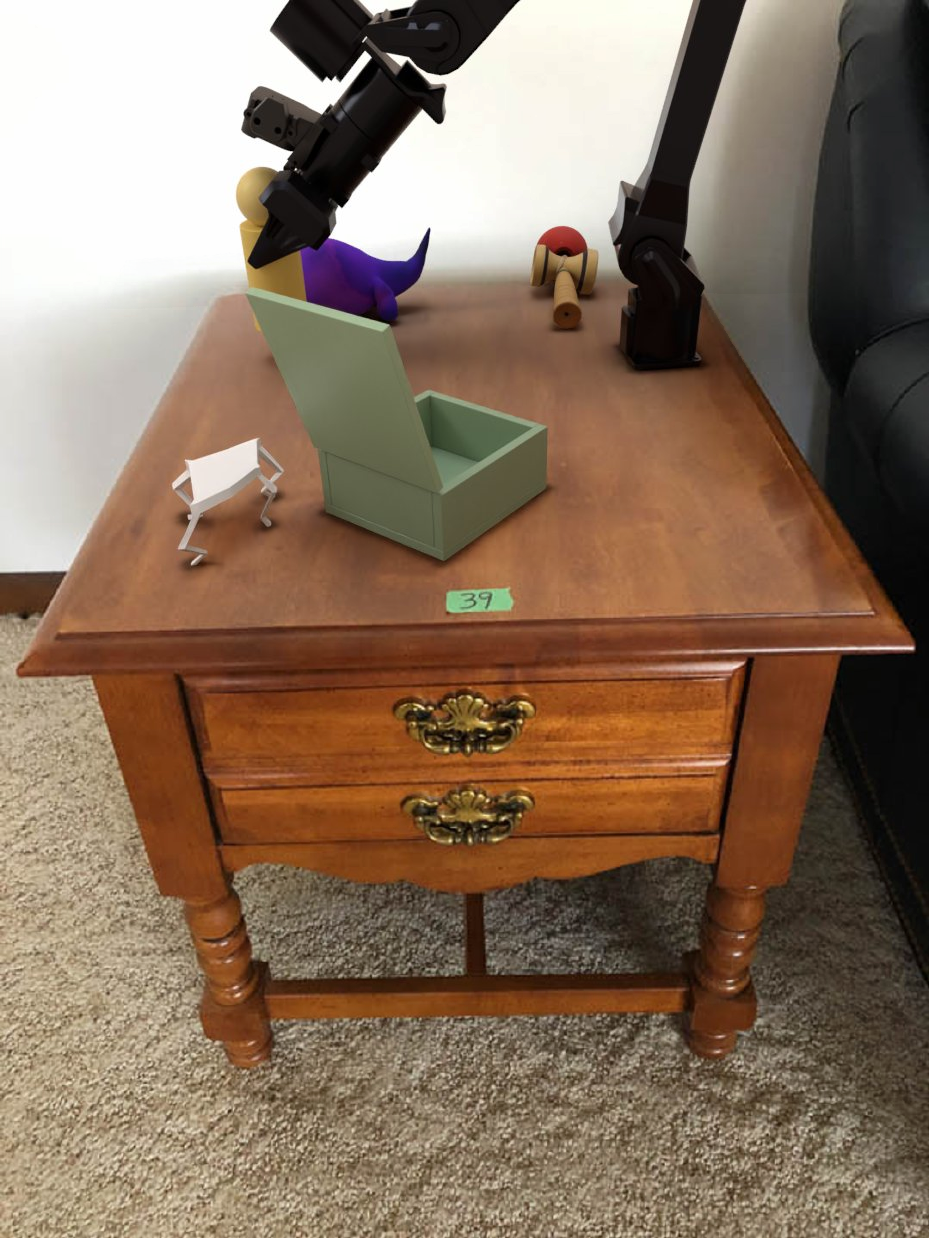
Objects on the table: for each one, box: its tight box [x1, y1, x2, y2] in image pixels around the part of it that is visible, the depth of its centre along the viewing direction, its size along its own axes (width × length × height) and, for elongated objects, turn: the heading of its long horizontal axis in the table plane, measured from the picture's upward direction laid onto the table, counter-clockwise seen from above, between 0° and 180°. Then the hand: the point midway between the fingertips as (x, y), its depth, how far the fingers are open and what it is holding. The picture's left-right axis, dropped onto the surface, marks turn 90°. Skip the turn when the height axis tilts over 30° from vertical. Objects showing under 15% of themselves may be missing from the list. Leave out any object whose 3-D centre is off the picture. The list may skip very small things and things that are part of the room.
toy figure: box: [235, 166, 307, 334], centre depth 95 cm, size 5×5×14 cm
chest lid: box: [244, 287, 443, 493], centre depth 67 cm, size 13×12×1 cm
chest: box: [317, 389, 549, 562], centre depth 77 cm, size 13×12×5 cm
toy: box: [300, 227, 432, 322], centre depth 109 cm, size 9×10×15 cm
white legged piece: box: [171, 437, 285, 566], centre depth 75 cm, size 12×8×5 cm
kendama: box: [529, 225, 599, 330], centre depth 112 cm, size 8×6×18 cm
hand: (257, 255), depth 96 cm, fingers closed on toy figure, 5 cm apart
